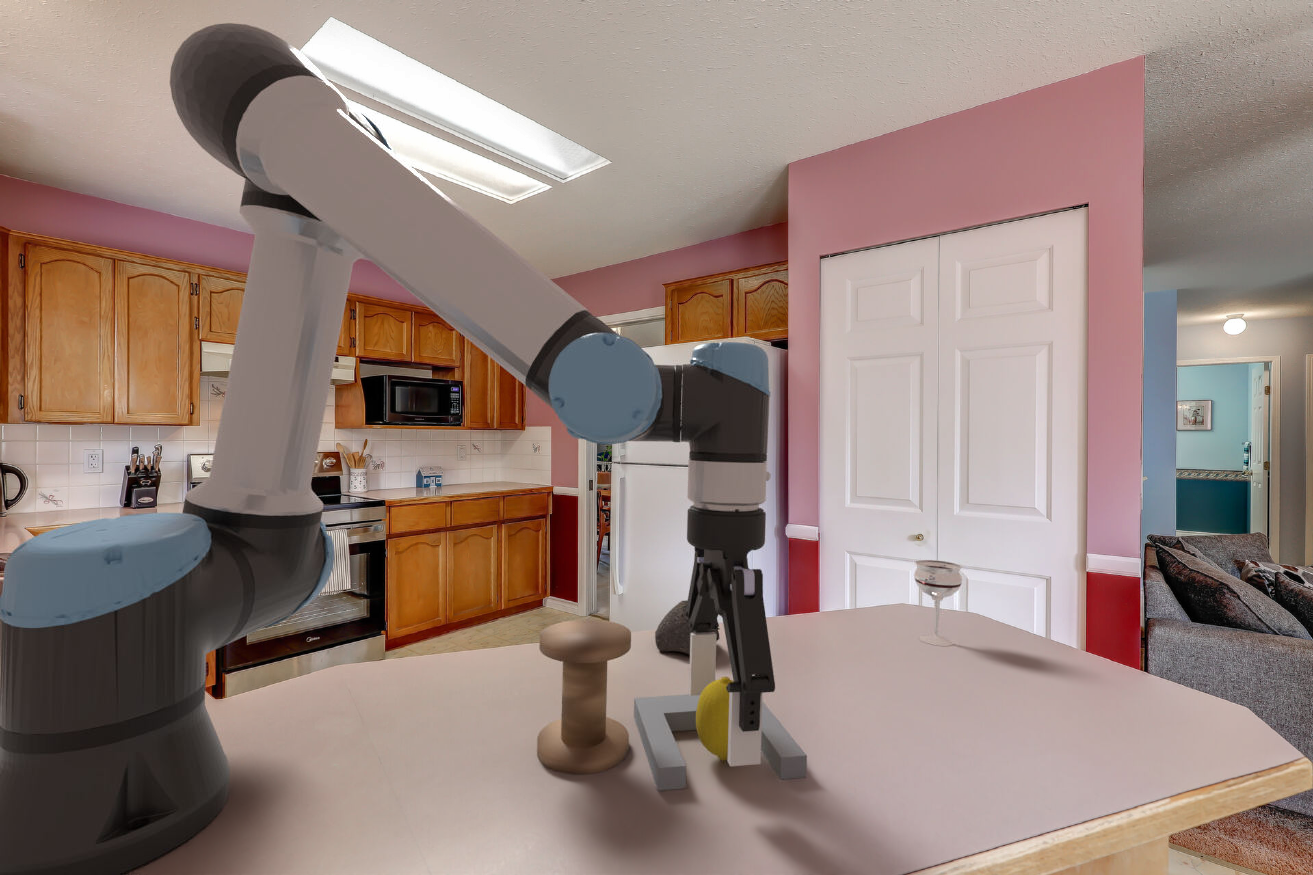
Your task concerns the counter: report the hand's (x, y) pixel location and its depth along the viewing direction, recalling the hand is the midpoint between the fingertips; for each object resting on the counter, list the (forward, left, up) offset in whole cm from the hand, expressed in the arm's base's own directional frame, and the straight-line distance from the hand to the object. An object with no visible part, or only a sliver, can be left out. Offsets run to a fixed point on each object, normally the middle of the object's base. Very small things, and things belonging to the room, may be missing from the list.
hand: (720, 724), depth 57 cm
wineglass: (+44, +28, -4) cm, 52 cm away
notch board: (0, +3, -3) cm, 5 cm away
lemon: (0, 0, -4) cm, 4 cm away
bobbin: (-13, +4, -3) cm, 14 cm away
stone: (+5, +30, -4) cm, 30 cm away
